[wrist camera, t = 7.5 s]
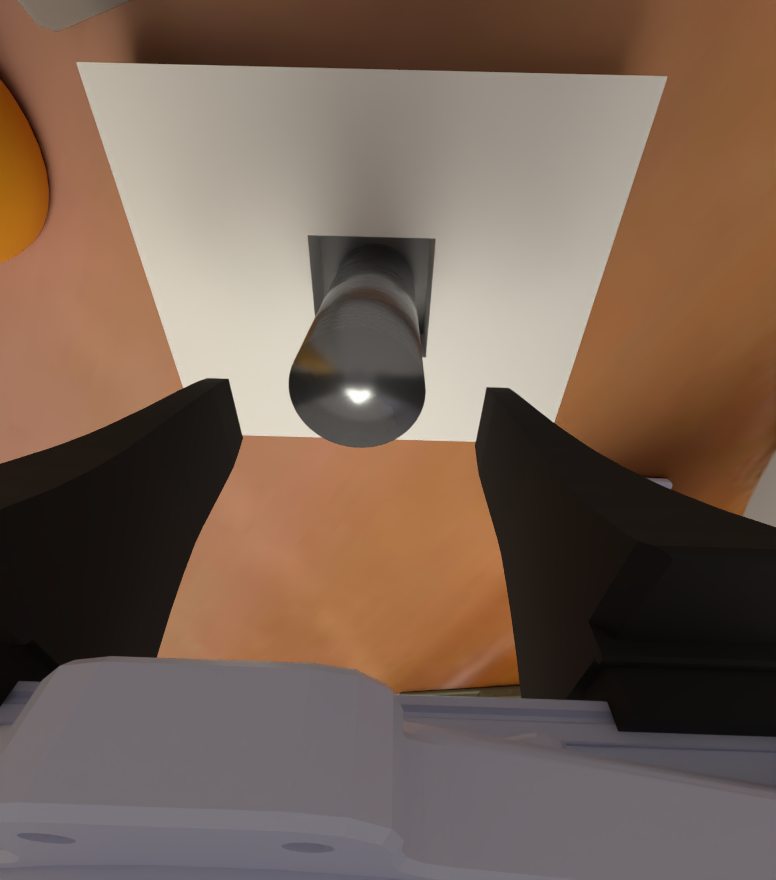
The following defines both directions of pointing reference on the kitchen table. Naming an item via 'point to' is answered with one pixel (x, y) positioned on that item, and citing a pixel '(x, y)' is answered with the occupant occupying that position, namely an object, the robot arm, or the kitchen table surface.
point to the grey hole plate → (373, 215)
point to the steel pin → (362, 354)
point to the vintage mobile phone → (65, 11)
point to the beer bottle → (19, 180)
